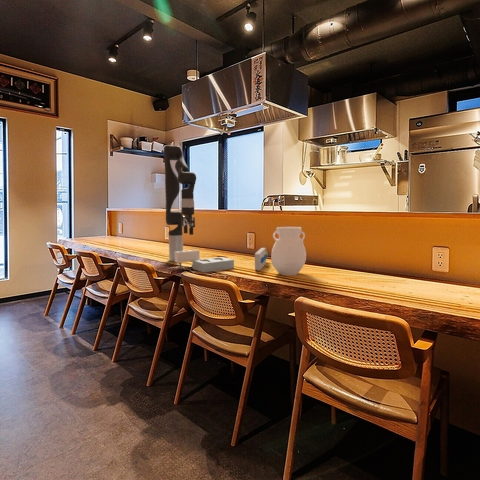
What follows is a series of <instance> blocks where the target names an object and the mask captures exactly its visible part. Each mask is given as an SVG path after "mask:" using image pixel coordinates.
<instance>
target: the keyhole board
mask: <svg viewBox="0 0 480 480" xmlns="http://www.w3.org/2000/svg"><path fill="white" fill-rule="evenodd" d="M191 262H192V264H191V265H193V267H192V270H195V271H199V272H202V273H209V272H216V271H217V272H218V271H223V270H224V271H225V270H230V269H235V260H234V259H233V258H228V257H223V256H218V257H209V258H201V259H199V260H192V261H191Z"/></svg>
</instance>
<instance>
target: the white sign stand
mask: <svg viewBox="0 0 480 480" xmlns="http://www.w3.org/2000/svg"><path fill="white" fill-rule="evenodd" d="M174 258H175V261H174V262H175V263H179V266H177V270H179V269H180V270H183V269H184V266H182V263H188V262H189V263H190V262H192V260H199V259H200V250H199V249H188V250H183V251H176V252H174ZM191 268H193V264H191Z"/></svg>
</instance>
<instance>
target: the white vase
mask: <svg viewBox="0 0 480 480" xmlns="http://www.w3.org/2000/svg"><path fill="white" fill-rule="evenodd" d="M302 229H303V228H302V227H301V226H277V227H276V230H275V231H274V232H273V233H272V238H273V239H274V241H275V242H274V244H273V246H272V248H271V254H270V256H271V257H270V259H271V264H272V266H273V268H274V269H275V270H276V272H278V273H279V274H280V275H282V276H296V275H299V273H300V271H302V269H303V267H304V266H305V263H306V260H307V250H306V247H305V244H304V240H305V238H306V233H305V232H304V231H303V230H302ZM276 234H277V235H278V238H277V237H276ZM301 235H302V238H301V237H300V236H301Z"/></svg>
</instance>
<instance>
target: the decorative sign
mask: <svg viewBox="0 0 480 480" xmlns="http://www.w3.org/2000/svg"><path fill="white" fill-rule="evenodd" d="M267 258H268V251H267V247H261V248H259V249H258V250H257V251H256V252H255V253H254V271H255V270H257V272H259V271H261V270H262V269H263V267H264V266H265V265H266V263H267Z"/></svg>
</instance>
